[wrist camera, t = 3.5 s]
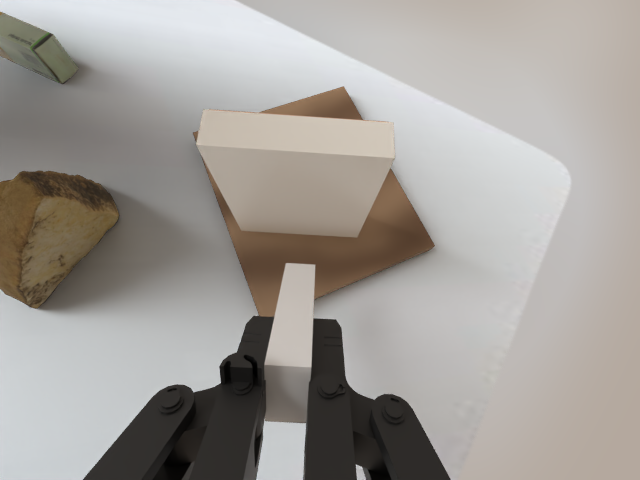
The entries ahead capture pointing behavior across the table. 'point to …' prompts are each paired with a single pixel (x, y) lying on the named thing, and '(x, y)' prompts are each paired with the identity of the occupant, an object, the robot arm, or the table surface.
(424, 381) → the table surface
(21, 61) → the medication box
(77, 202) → the rock
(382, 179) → the tile
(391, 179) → the board
